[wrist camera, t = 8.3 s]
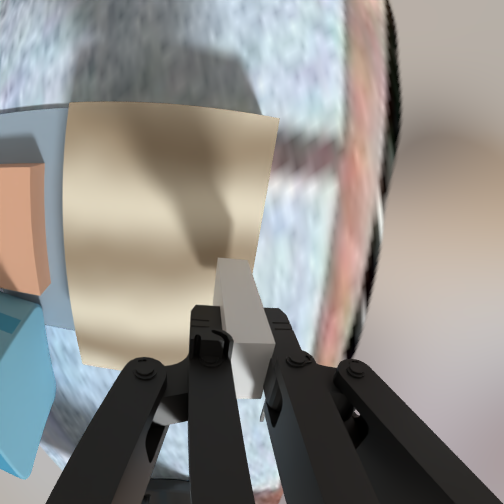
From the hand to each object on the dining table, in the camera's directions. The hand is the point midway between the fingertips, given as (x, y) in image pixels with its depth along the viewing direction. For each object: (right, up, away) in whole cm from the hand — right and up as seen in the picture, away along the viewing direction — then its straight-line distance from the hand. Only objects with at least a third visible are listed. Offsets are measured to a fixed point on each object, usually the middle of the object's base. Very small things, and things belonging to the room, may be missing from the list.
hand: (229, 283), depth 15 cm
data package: (-19, -7, +6) cm, 21 cm away
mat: (-15, +3, +2) cm, 15 cm away
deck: (-5, +2, +4) cm, 7 cm away
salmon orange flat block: (-16, +3, 0) cm, 16 cm away
